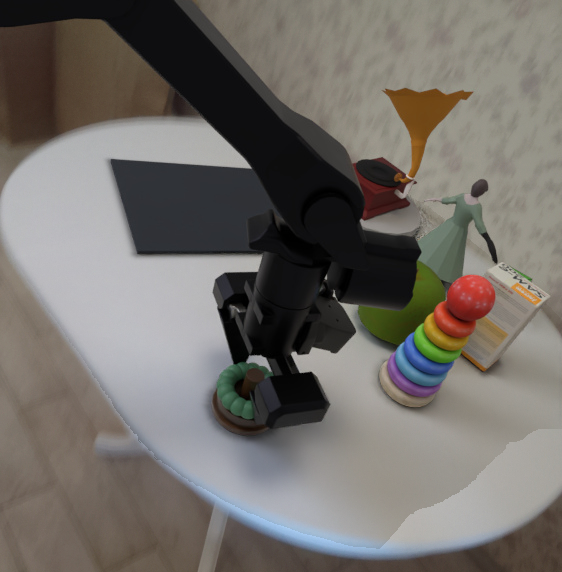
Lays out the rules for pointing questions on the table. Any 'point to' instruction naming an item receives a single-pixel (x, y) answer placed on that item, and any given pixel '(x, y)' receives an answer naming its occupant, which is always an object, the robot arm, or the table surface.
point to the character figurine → (455, 234)
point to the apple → (406, 309)
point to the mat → (189, 206)
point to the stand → (243, 390)
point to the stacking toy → (436, 343)
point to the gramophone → (392, 181)
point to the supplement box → (503, 315)
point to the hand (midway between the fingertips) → (248, 394)
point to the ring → (228, 391)
